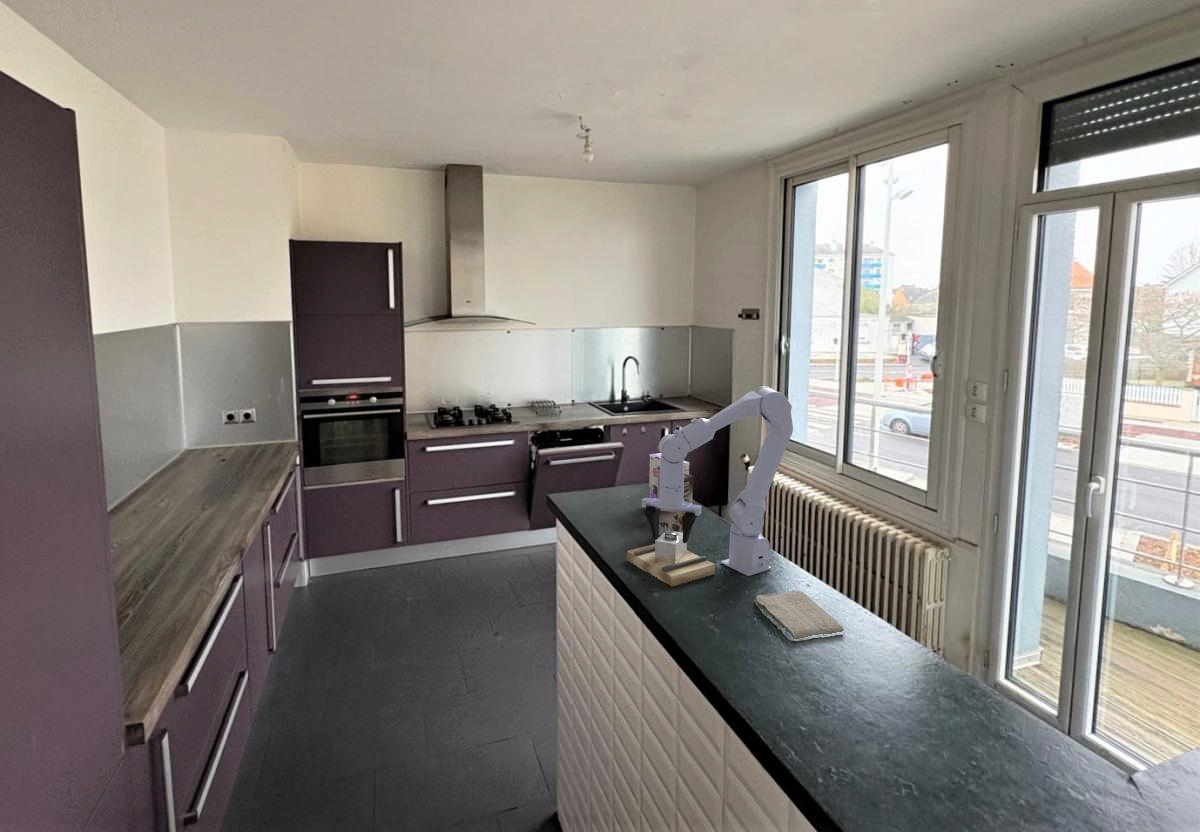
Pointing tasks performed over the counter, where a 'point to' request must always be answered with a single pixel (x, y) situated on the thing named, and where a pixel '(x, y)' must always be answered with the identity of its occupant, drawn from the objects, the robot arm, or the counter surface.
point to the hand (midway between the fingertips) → (670, 539)
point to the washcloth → (798, 614)
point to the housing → (670, 547)
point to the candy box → (658, 473)
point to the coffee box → (673, 518)
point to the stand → (671, 566)
